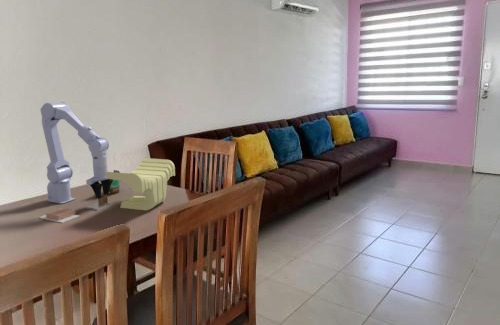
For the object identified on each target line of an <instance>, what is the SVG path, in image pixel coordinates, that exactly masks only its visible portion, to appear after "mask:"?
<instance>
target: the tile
mask: <svg viewBox="0 0 500 325" xmlns="http://www.w3.org/2000/svg"><path fill="white" fill-rule="evenodd" d="M45 215H46V217H47V218H52V219H57V220H60V219H63V218H66V217H69V216H71V215H76V209H72V208H67V207H66V208H65V207H61V208H58V209H55V210H52V211H49V212H46V213H45Z"/></svg>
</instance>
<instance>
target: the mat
mask: <svg viewBox="0 0 500 325" xmlns="http://www.w3.org/2000/svg"><path fill="white" fill-rule="evenodd" d="M79 217H80V215H78V214H74V215H71V216H69V217H66V218H63V219H60V220H57V219H52V218H47V217H46V214H44V215H42V216H39V217H38V218H39V219H42V220H46V221H51V222H56V223H61V224H63V223H67V222H69V221H71V220H74V219H76V218H79Z"/></svg>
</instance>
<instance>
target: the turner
mask: <svg viewBox="0 0 500 325" xmlns="http://www.w3.org/2000/svg"><path fill="white" fill-rule="evenodd" d="M97 201H98V202H95V203H93V204H91V205H90V204H89V205H87V206H85V209H87V210H92V211H99V210H102V209H104V208H107V207H109V206H110V207H111V203H109V202H108V196H107V194H103V193H101V198H100V199H98V198H97Z"/></svg>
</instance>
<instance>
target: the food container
mask: <svg viewBox="0 0 500 325" xmlns="http://www.w3.org/2000/svg"><path fill="white" fill-rule="evenodd" d="M113 172H116V173H121V171H119V170H116V169H115V170H114V169H113ZM112 180H113V182H112V184H111V186H110V190H109V194H108V196H115V195H117V194H119V193H120V182H121V181H120V180H114V179H112Z"/></svg>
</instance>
